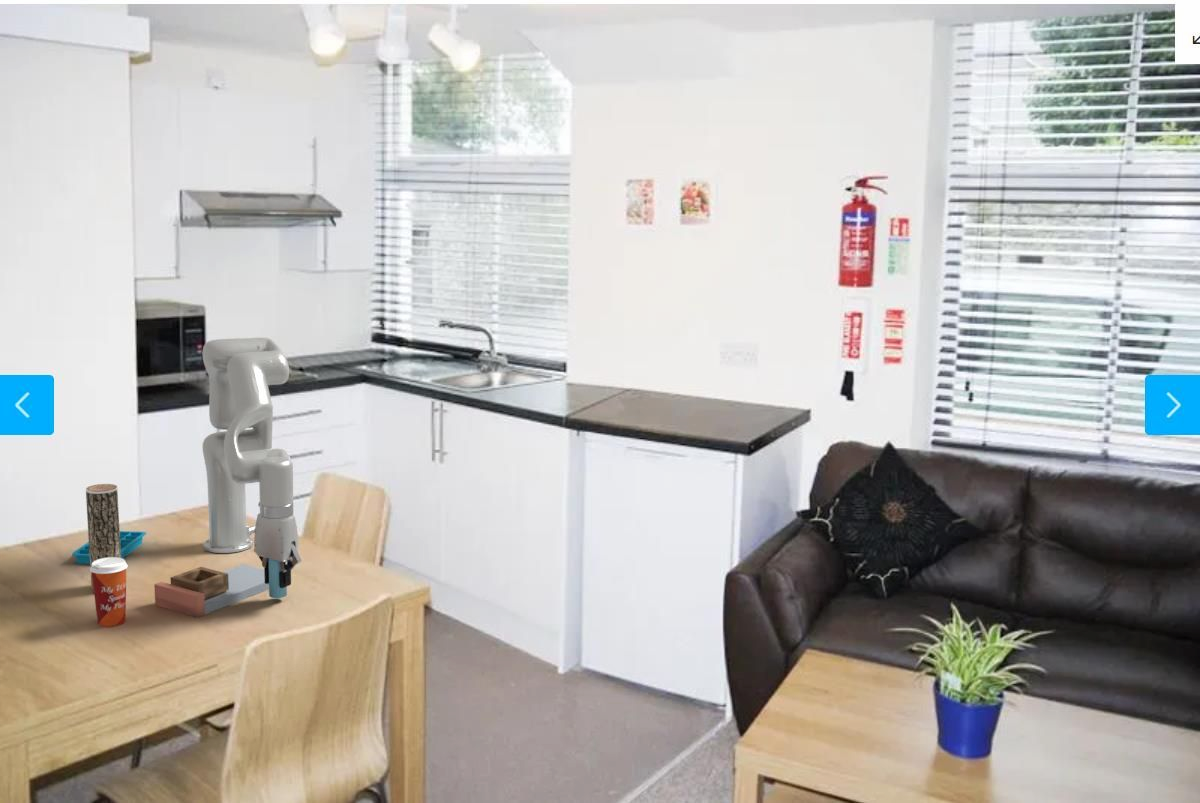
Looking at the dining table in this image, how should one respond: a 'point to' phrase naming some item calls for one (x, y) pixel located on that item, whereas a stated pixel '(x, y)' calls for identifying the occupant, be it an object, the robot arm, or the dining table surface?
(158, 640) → the dining table surface
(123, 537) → the ice cube tray
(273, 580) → the dowel
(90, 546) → the bark log
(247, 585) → the long flat grey board
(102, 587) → the paper cup
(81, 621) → the dining table surface
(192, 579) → the square wooden tray
